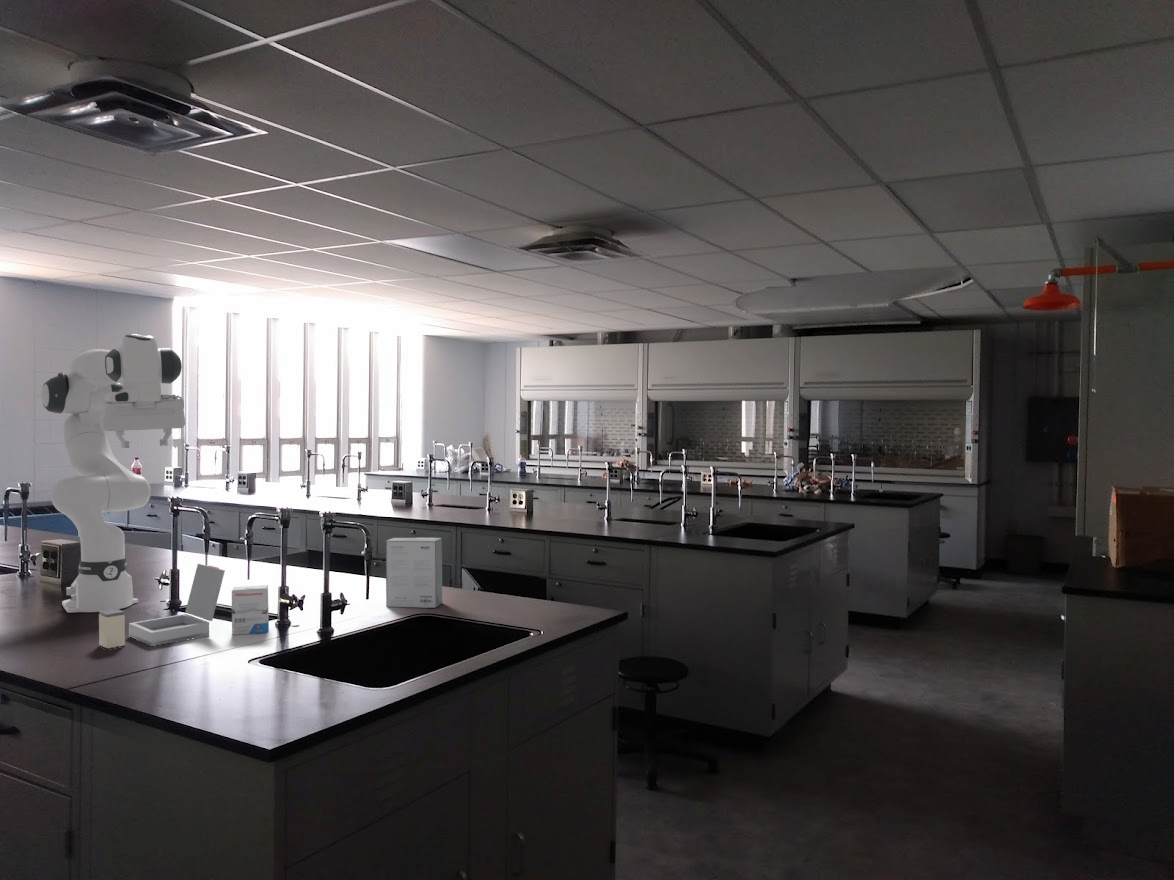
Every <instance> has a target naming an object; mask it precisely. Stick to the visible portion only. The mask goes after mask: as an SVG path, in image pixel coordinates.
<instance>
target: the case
mask: <svg viewBox="0 0 1174 880" xmlns="http://www.w3.org/2000/svg"><path fill="white" fill-rule="evenodd" d="M203 636H206V637H210V621H208V620H205V619H202V618H199V617H197V616H194V615H191V614H188V613H187V614H186V613H183V614H175V615H171V616H170V615H169V616H165V617H158V618H153V619H147V620H140V621H133V622H129V623H128V637H129V638H130V637H132V638H134V639H136V640H135V641H137V640H138V641H137V642H139V641H141V642H143V643H145V644H144V645H146V644H147V645H146V646H148V645H149V646H148V647H150V646H154V647H157V646H156V645H159V646H162V645H161V644H165V645H167V644H166V643H170V644H173V643H172V642H175V643H177V642H176V641H180V642H183V641H182V640H185V641H188V640H187V639H191V640H193V639H192V638H196V639H198V638H197V637H201V638H204V637H203ZM132 638H131V639H132ZM134 639H133V640H134ZM141 642H140V643H141ZM143 643H142V644H143Z"/></svg>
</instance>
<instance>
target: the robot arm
mask: <svg viewBox="0 0 1174 880" xmlns="http://www.w3.org/2000/svg"><path fill="white" fill-rule="evenodd" d="M157 343H158V342H157V340H156V338H155V337H154V336H153V335H149V334H143V333H142V334H141V333H129V334H125V335H123V337H122V340H121V344H120V345H119V346H118V347H117V348H113V349H111V350H109V349H103V348H94V349H93V348H92V349H87V350H85V351H83V352H81V353H79V354H78V355H76V357H75V358H73V360H72V361H71V365H70V372H69V373H67V374H66V373H65V374H64V373H62V372H58V374H57V376H53V377H51V378H49V379H48V380H47V381H45V382H44V383H43V386H42V389H41V391H40V398H41V399H40V400H41V401H42V405H43V407H44V408H45V410H46V411H47V412H50V413H53V414H62V413H63V414H71V415H69V416H68V417H66V419H65V420H64V424H63V436H64V437H63V439H64V444H65V448H66V451H67V455H68V458H69V462H70V465H71V467H72V469H73V470H74V472H75V473H77V474H79V475H76V476H72V477H71V476H70V477H66V478H62V479H59V480H57V482H55V484H54V486H53V487H52V489H51V492H50V493H51V494H50V499H51V503H52V505H53V507H54V508H55V509H56V510H57V511H58V512H59V513H61V514H62V515H64V516H66V517H67V518H69V520H70V521H71V522H72V523H73V524H74V527H76V529H77V531H78V535H79V542H80V559H81V560H80V561H79V565H78V571H77V572H78V575H77V577H76V578H75V579H74V581H73V582H72V583H71V584H70V586H69V587H68V586H66V587H65V591H66V592H65V593H66V596H70V598H69V599H65V600H62V601H61V605H62V607H63V609H64V611H66V613H70V614H71V613H99V611H105V610H111V609H119V610H121V609H124V608H128V607H130V606H132V605H134V604H137V603H139V598H135V597H134V591H133V578H132V575H130V574H129V573H128V572H127V571H126V570H127V568H128V567H127V565H128V562H127V558H126V557H125V554H126V553H125V552H126V549H125V547H126V544H125V541H126V540H125V539H126V537H125V532H124V531H123V530H122V529H121V528H120V527H118V526H117V525H114V524H112V523H109V522H106V521H105V520H104V517H103V513H113V512H126V511H132V510H135V509H140V508H143V507H145V506H146V505H147V504H148V502H149V500H150V498H151V495H152V489H151V488H152V487H151V485H150V483H149V481H148V480H147V479H146V477H144V476H142V475H140V474H137V473H135V472H133V471H131V470H129V469H128V468H127V467H126V466H124V465H123V464H122V463H121V462H119V460H118V459H117V458H116V457H115V455H114V453H113V451H112V448H111V445H110V442H109V439H108V436H107V435H106V432H115V436H116V437H117V438H118V440H119V441H120V447H121V449H129V448H130V441H129V440H125V437H124V436H125V431H145V430H148V431H149V430H163V433H164V436H163V437H162V438H161V439H159V446H160V447H167V446H168V444H169V443H168V440H169V438H170V436H171V435H172V430H173V429H182V428H184V427H185V426H186V417H185V411H184V409H185V401H184V398H183V397H182V396H179V395H178V394H162V389H161V387H162V385H161V384H172V383H174V382H175V381H176V380H177V379H178V378H179V377H180V375H181V372H182V368H183V367H182V360H181V357H180V356H179V355H178V354H177V353H176V352H175V351H174V349H171V348H170V347H160V348H159V347H158V344H157Z"/></svg>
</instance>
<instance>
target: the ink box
mask: <svg viewBox="0 0 1174 880" xmlns="http://www.w3.org/2000/svg"><path fill="white" fill-rule="evenodd" d="M269 619H270V618H269V585H268V584H264V585H248V586H246V585H245V586H244V585H243V586H234V587H233V589H232V590H231V635H233V636H234V635H236V636H237V635H239V634H240V635H253V633H256V634H267V633H268V631H269V629H270V628H269V626H270V625H269ZM266 632H267V633H266Z"/></svg>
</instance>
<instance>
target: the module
mask: <svg viewBox="0 0 1174 880" xmlns="http://www.w3.org/2000/svg"><path fill="white" fill-rule="evenodd" d="M125 613H126V612H125V610H121V609H111V610H105V611H99V612H98V646H99V645H101V646H103V647H106V648H111V647H116V646H123V645H125V646H126V631H125V630H126V628H125V627H126V623H125V619H126V617H125Z"/></svg>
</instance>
